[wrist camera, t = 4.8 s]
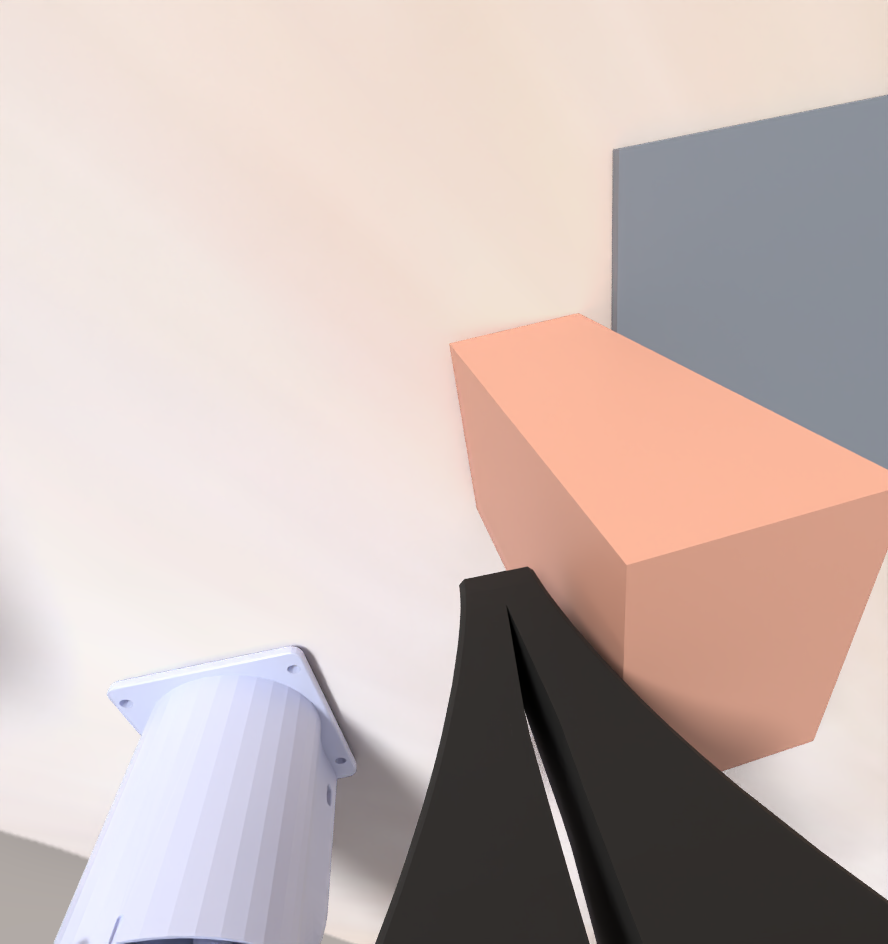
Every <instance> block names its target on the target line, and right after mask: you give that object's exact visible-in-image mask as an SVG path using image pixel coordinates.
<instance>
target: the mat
mask: <svg viewBox="0 0 888 944" xmlns="http://www.w3.org/2000/svg"><path fill="white" fill-rule="evenodd" d="M612 331H614V332H616V333H618V334H620V335H622V336H624V337H626V338H628V339H630V340H632V341H634V342H636V343H638V344H640V345H642V346H644V347H646V348H648V349H650V350H652V351H654V352H656V353H658V354H660V355H662V356H664V357H666V358H668V359H670V360H672V361H674V362H676V363H678V364H680V365H682V366H684V367H686V368H688V369H690V370H692V371H693V372H695V373H697V374H699V375H701V376H703V377H705V378H707V379H709V380H711V381H713V382H715V383H717V384H719V385H721V386H723V387H725V388H727V389H729V390H731V391H733V392H735V393H737V394H739V395H741V396H743V397H745V398H747V399H749V400H751V401H753V402H755V403H757V404H759V405H761V406H763V407H765V408H767V409H769V410H771V411H773V412H775V413H776V414H778V415H780V416H782V417H784V418H786V419H788V420H790V421H792V422H794V423H796V424H798V425H800V426H802V427H804V428H806V429H808V430H810V431H812V432H814V433H816V434H818V435H820V436H822V437H824V438H826V439H828V440H830V441H832V442H834V443H836V444H838V445H840V446H842V447H844V448H846V449H848V450H850V451H852V452H854V453H856V454H858V455H860V456H861V457H863V458H865V459H867V460H869V461H871V462H873V463H875V464H877V465H879V466H881V467H883V468H885V469H887V470H888V95H884V96H879V97H874V98H869V99H864V100H859V101H854V102H849V103H844V104H839V105H834V106H829V107H824V108H819V109H814V110H809V111H804V112H799V113H794V114H789V115H784V116H779V117H774V118H769V119H764V120H759V121H754V122H749V123H744V124H739V125H734V126H729V127H724V128H719V129H714V130H709V131H704V132H699V133H694V134H689V135H684V136H679V137H674V138H669V139H664V140H659V141H654V142H649V143H644V144H639V145H634V146H629V147H624V148H619V149H614V150H613V203H612Z"/></svg>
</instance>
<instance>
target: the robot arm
mask: <svg viewBox="0 0 888 944" xmlns="http://www.w3.org/2000/svg"><path fill="white" fill-rule="evenodd" d="M459 587H460V599H461V613H460V629H459V640H458V648H457V655H456V662H455V669H454V676H453V683H452V688H451V694H450V698H449V703H448V708H447V713H446V717H445V722H444V727H443V732H442V736H441V741H440V745H439V749H438V753H437V757H436V761H435V764H434V768H433V772H432V776H431V779H430V783H429V786H428V790H427V793H426V797H425V800H424V804H423V807H422V811H421V814H420V817H419V820H418V823H417V826H416V829H415V833H414V836H413V839H412V842H411V845H410V848H409V851H408V855H407V858H406V861H405V864H404V867H403V869H402V872H401V875H400V878H399V881H398V884H397V887H396V890H395V893H394V895H393V898H392V901H391V903H390V906H389V909H388V911H387V914H386V917H385V919H384V922H383V924H382V927H381V930H380V932H379V935H378V938H377V940H376V943H375V944H589V940H588V937H587V933H586V930H585V927H584V923H583V920H582V916H581V913H580V909H579V906H578V903H577V899H576V896H575V892H574V889H573V886H572V882H571V879H570V875H569V872H568V868H567V865H566V861H565V858H564V855H563V851H562V848H561V844H560V841H559V837H558V834H557V830H556V827H555V823H554V820H553V816H552V813H551V809H550V806H549V802H548V799H547V795H546V792H545V788H544V784H543V781H542V777H541V774H540V770H539V767H538V763H537V760H536V756H535V752H534V749H533V745H532V742H531V738H530V734H529V730H528V725H527V721H526V716H527V719H528V722H529V725H530V728H531V731H532V734H533V736H534V739H535V742H536V745H537V748H538V751H539V754H540V757H541V759H542V762H543V765H544V768H545V771H546V774H547V777H548V779H549V782H550V785H551V788H552V791H553V794H554V797H555V799H556V802H557V805H558V808H559V811H560V814H561V817H562V819H563V823H564V826H565V829H566V832H567V835H568V839H569V842H570V845H571V848H572V852H573V855H574V859H575V863H576V866H577V870H578V874H579V878H580V881H581V885H582V889H583V893H584V896H585V900H586V904H587V908H588V911H589V915H590V919H591V923H592V927H593V930H594V934H595V938H596V942H597V944H888V900H887V899H885V898H884V897H882V896H881V895H880V894H878V893H877V892H876V891H874V890H873V889H872V888H870V887H869V886H868V885H866V884H865V883H863V882H862V881H861V880H859V879H858V878H857V877H855V876H854V875H853V874H851V873H850V872H849V871H847V870H846V869H844V868H843V867H842V866H840V865H839V864H838V863H836V862H835V861H834V860H832V859H831V858H829V857H828V856H827V855H825V854H824V853H823V852H821V851H820V850H819V849H818V848H816V847H815V846H814V845H812V844H811V843H810V842H809V841H807V840H806V839H805V838H804V837H802V836H801V835H800V834H798V833H797V832H796V831H795V830H793V829H792V828H791V827H790V826H788V825H787V824H786V823H785V822H783V821H782V820H781V819H779V818H778V817H777V816H776V815H774V814H773V813H772V812H771V811H769V810H768V809H767V808H766V807H764V806H763V805H762V804H760V803H759V802H758V801H757V800H755V799H754V798H753V797H752V796H750V795H749V794H748V793H746V792H745V791H744V790H743V789H741V788H740V787H739V786H738V785H737V784H735V783H734V782H733V781H732V780H731V779H730V778H728V777H727V776H726V775H725V774H724V773H723V772H721V771H720V770H719V769H718V768H717V767H716V766H714V765H713V764H712V763H711V762H710V761H709V760H707V759H706V758H705V757H704V756H703V755H702V754H700V753H699V752H698V751H697V750H696V749H695V748H694V747H693V746H691V745H690V744H689V743H688V742H687V741H686V740H685V739H684V738H683V737H681V736H680V735H679V734H678V733H677V732H676V731H675V730H674V729H673V728H672V727H670V726H669V725H668V724H667V723H666V722H665V721H664V720H663V719H662V718H661V717H660V716H659V715H658V714H657V713H656V712H655V711H654V710H653V709H652V708H651V707H649V706H648V705H647V704H646V703H645V702H644V701H643V700H642V699H641V698H640V697H639V696H638V695H637V694H636V693H635V692H634V691H633V690H632V689H631V688H630V686H629V685H628V684H627V683H626V682H625V681H624V680H623V679H622V678H621V677H620V676H619V675H618V674H617V673H616V672H615V671H614V670H613V669H612V668H611V667H610V666H609V665H608V664H607V662H606V661H605V660H604V659H603V658H602V657H601V656H600V655H599V654H598V652H597V651H596V650H595V649H594V648H593V647H592V646H591V644H590V643H589V642H588V641H587V640H586V639H585V638H584V637H583V635H582V634H581V633H580V632H579V631H578V630H577V628H576V627H575V626H574V625H573V624H572V622H571V621H570V620H569V619H568V617H567V616H566V615H565V614H564V612H563V611H562V610H561V609H560V607H559V606H558V605H557V603H556V602H555V601H554V599H553V598H552V597H551V595H550V594H549V593H548V591H547V590H546V589H545V587H544V586H543V584H542V583H541V581H540V580H539V578H538V577H537V575H536V573H535V572H534V570H533V569H531V568H529V567H522V568H517V569H512V570H508V571H503V572H498V573H493V574H488V575H483V576H478V577H474V578H469V579H464V580H463V581H462V583H461V584H460V585H459ZM294 665H296V666H294ZM107 696H108V698H109V699H110V700H111V701H112V702H113V704H114V705H115V706H116V707H117V708H118V709H119V711H120V712H121V713H122V714H123V715H124V717H125V718H126V719H127V720H128V721H129V722H130V724H131V725H132V726H133V727H134V728H135V729H136V731H137V732H138V733H139V734H140V735H141V738H140V740H139V742H138V745H137V747H136V749H135V752H134V754H133V757H132V759H131V761H130V764H129V766H128V768H127V771H126V773H125V775H124V778H123V780H122V783H121V785H120V787H119V790H118V792H117V794H116V797H115V799H114V801H113V804H112V806H111V809H110V811H109V813H108V816H107V818H106V820H105V823H104V825H103V827H102V830H101V832H100V835H99V837H98V839H97V842H96V844H95V846H94V849H93V851H92V853H91V856H90V858H89V861H88V863H87V865H86V868H85V870H84V872H83V875H82V877H81V880H80V882H79V884H78V887H77V889H76V891H75V894H74V896H73V898H72V901H71V903H70V906H69V908H68V910H67V913H66V915H65V917H64V920H63V922H62V924H61V927H60V929H59V932H58V934H57V936H56V939H55V941H54V944H321V941H322V938H323V935H324V931H325V926H326V921H327V913H328V901H329V887H330V872H331V858H332V844H333V830H334V816H335V801H336V787H337V779H339V778H344V777H349V776H352V775H353V774H355V772H356V768H357V764H356V761H355V759H354V757H353V755H352V753H351V750H350V748H349V746H348V744H347V742H346V740H345V738H344V736H343V734H342V732H341V730H340V728H339V726H338V723H337V721H336V719H335V717H334V715H333V713H332V711H331V709H330V707H329V705H328V703H327V701H326V699H325V696H324V694H323V692H322V690H321V688H320V686H319V684H318V682H317V680H316V678H315V676H314V674H313V672H312V669H311V667H310V665H309V663H308V661H307V659H306V657H305V655H304V653H303V651H302V650H301V649H299V648H297V647H294V646H288V647H283V648H278V649H273V650H268V651H263V652H258V653H253V654H248V655H244V656H239V657H234V658H229V659H224V660H219V661H214V662H209V663H204V664H200V665H195V666H190V667H185V668H180V669H175V670H170V671H165V672H160V673H156V674H151V675H146V676H141V677H136V678H131V679H126V680H121V681H117V682H114V683H113V684H112V685H111V686H110V688H109V690H108V693H107ZM524 711H525V712H524ZM525 713H526V716H525Z"/></svg>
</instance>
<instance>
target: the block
mask: <svg viewBox="0 0 888 944" xmlns="http://www.w3.org/2000/svg"><path fill="white" fill-rule="evenodd" d="M450 350H451V356H452V362H453V368H454V374H455V380H456V387H457V393H458V399H459V405H460V411H461V417H462V423H463V429H464V435H465V441H466V447H467V453H468V459H469V465H470V471H471V477H472V483H473V489H474V495H475V501H476V507H477V510H478V512H479V514H480V516H481V518H482V520H483V522H484V524H485V527H486V529H487V531H488V533H489V535H490V537H491V539H492V541H493V543H494V545H495V547H496V550H497V552H498V554H499V556H500V558H501V560H502V562H503V564H504V566H505V568H506V570H507V571H508V570H512V569H517V568H522V567H529V568H531V569H533V570H534V572H535V573H536V575H537V577H538V578H539V580H540V581H541V583H542V584H543V586H544V587H545V589H546V590H547V591H548V593H549V594H550V595H551V597H552V598H553V599H554V601H555V602H556V603H557V605H558V606H559V607H560V609H561V610H562V611H563V612H564V614H565V615H566V616H567V617H568V619H569V620H570V621H571V622H572V624H573V625H574V626H575V627H576V628H577V630H578V631H579V632H580V633H581V634H582V635H583V637H584V638H585V639H586V640H587V641H588V642H589V643H590V644H591V646H592V647H593V648H594V649H595V650H596V651H597V652H598V654H599V655H600V656H601V657H602V658H603V659H604V660H605V661H606V662H607V664H608V665H609V666H610V667H611V668H612V669H613V670H614V671H615V672H616V673H617V674H618V675H619V676H620V677H621V678H622V679H623V680H624V681H625V682H626V683H627V684H628V685H629V686H630V688H631V689H632V690H633V691H634V692H635V693H636V694H637V695H638V696H639V697H640V698H641V699H642V700H643V701H644V702H645V703H646V704H647V705H648V706H649V707H651V708H652V709H653V710H654V711H655V712H656V713H657V714H658V715H659V716H660V717H661V718H662V719H663V720H664V721H665V722H666V723H667V724H668V725H669V726H670V727H672V728H673V729H674V730H675V731H676V732H677V733H678V734H679V735H680V736H681V737H683V738H684V739H685V740H686V741H687V742H688V743H689V744H690V745H691V746H693V747H694V748H695V749H696V750H697V751H698V752H699V753H700V754H702V755H703V756H704V757H705V758H706V759H707V760H709V761H710V762H711V763H712V764H713V765H714V766H716V767H717V768H718V769H719V770H720V771H724V770H727V769H730V768H733V767H736V766H739V765H742V764H745V763H748V762H751V761H754V760H757V759H760V758H763V757H766V756H769V755H772V754H775V753H778V752H781V751H784V750H787V749H790V748H793V747H796V746H799V745H802V744H805V743H808V742H811V741H813V740H814V738H815V735H816V733H817V730H818V727H819V725H820V722H821V720H822V717H823V715H824V712H825V709H826V707H827V704H828V702H829V699H830V697H831V694H832V691H833V689H834V686H835V684H836V681H837V679H838V676H839V673H840V671H841V668H842V666H843V663H844V660H845V658H846V655H847V653H848V650H849V648H850V645H851V642H852V640H853V637H854V635H855V632H856V630H857V627H858V624H859V622H860V619H861V617H862V614H863V612H864V609H865V606H866V604H867V601H868V599H869V596H870V594H871V591H872V588H873V586H874V583H875V581H876V578H877V575H878V573H879V570H880V568H881V565H882V563H883V560H884V557H885V555H886V552H887V550H888V470H887V469H885V468H883V467H881V466H879V465H877V464H875V463H873V462H871V461H869V460H867V459H865V458H863V457H861V456H860V455H858V454H856V453H854V452H852V451H850V450H848V449H846V448H844V447H842V446H840V445H838V444H836V443H834V442H832V441H830V440H828V439H826V438H824V437H822V436H820V435H818V434H816V433H814V432H812V431H810V430H808V429H806V428H804V427H802V426H800V425H798V424H796V423H794V422H792V421H790V420H788V419H786V418H784V417H782V416H780V415H778V414H776V413H775V412H773V411H771V410H769V409H767V408H765V407H763V406H761V405H759V404H757V403H755V402H753V401H751V400H749V399H747V398H745V397H743V396H741V395H739V394H737V393H735V392H733V391H731V390H729V389H727V388H725V387H723V386H721V385H719V384H717V383H715V382H713V381H711V380H709V379H707V378H705V377H703V376H701V375H699V374H697V373H695V372H693V371H692V370H690V369H688V368H686V367H684V366H682V365H680V364H678V363H676V362H674V361H672V360H670V359H668V358H666V357H664V356H662V355H660V354H658V353H656V352H654V351H652V350H650V349H648V348H646V347H644V346H642V345H640V344H638V343H636V342H634V341H632V340H630V339H628V338H626V337H624V336H622V335H620V334H618V333H616V332H614V331H612V330H610V329H609V328H607V327H605V326H603V325H601V324H599V323H597V322H595V321H593V320H591V319H589V318H587V317H585V316H583V315H581V314H579V313H578V314H573V315H569V316H565V317H561V318H556V319H552V320H548V321H544V322H539V323H535V324H531V325H527V326H522V327H518V328H514V329H509V330H505V331H501V332H497V333H492V334H488V335H484V336H480V337H475V338H471V339H467V340H463V341H458V342H454V343H450Z"/></svg>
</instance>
